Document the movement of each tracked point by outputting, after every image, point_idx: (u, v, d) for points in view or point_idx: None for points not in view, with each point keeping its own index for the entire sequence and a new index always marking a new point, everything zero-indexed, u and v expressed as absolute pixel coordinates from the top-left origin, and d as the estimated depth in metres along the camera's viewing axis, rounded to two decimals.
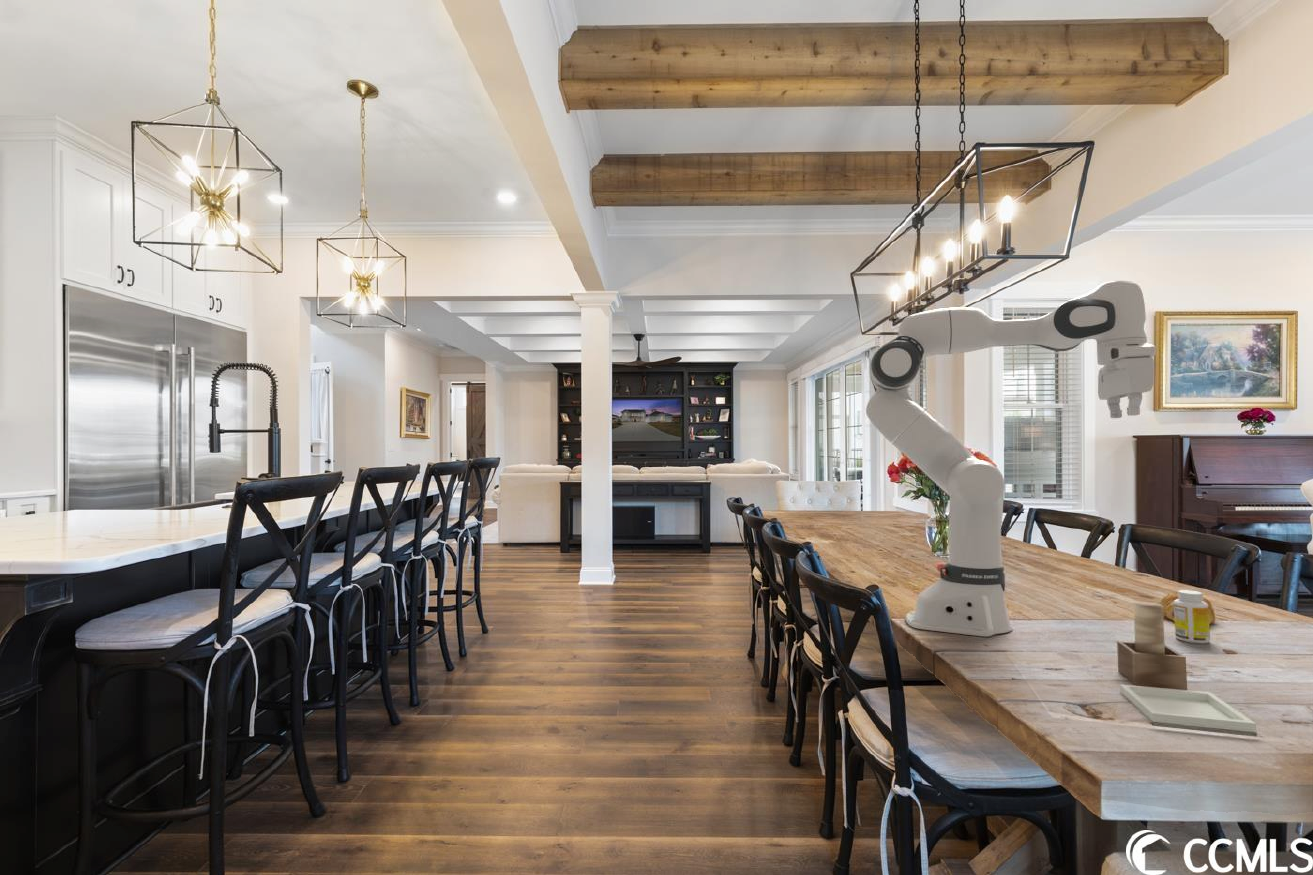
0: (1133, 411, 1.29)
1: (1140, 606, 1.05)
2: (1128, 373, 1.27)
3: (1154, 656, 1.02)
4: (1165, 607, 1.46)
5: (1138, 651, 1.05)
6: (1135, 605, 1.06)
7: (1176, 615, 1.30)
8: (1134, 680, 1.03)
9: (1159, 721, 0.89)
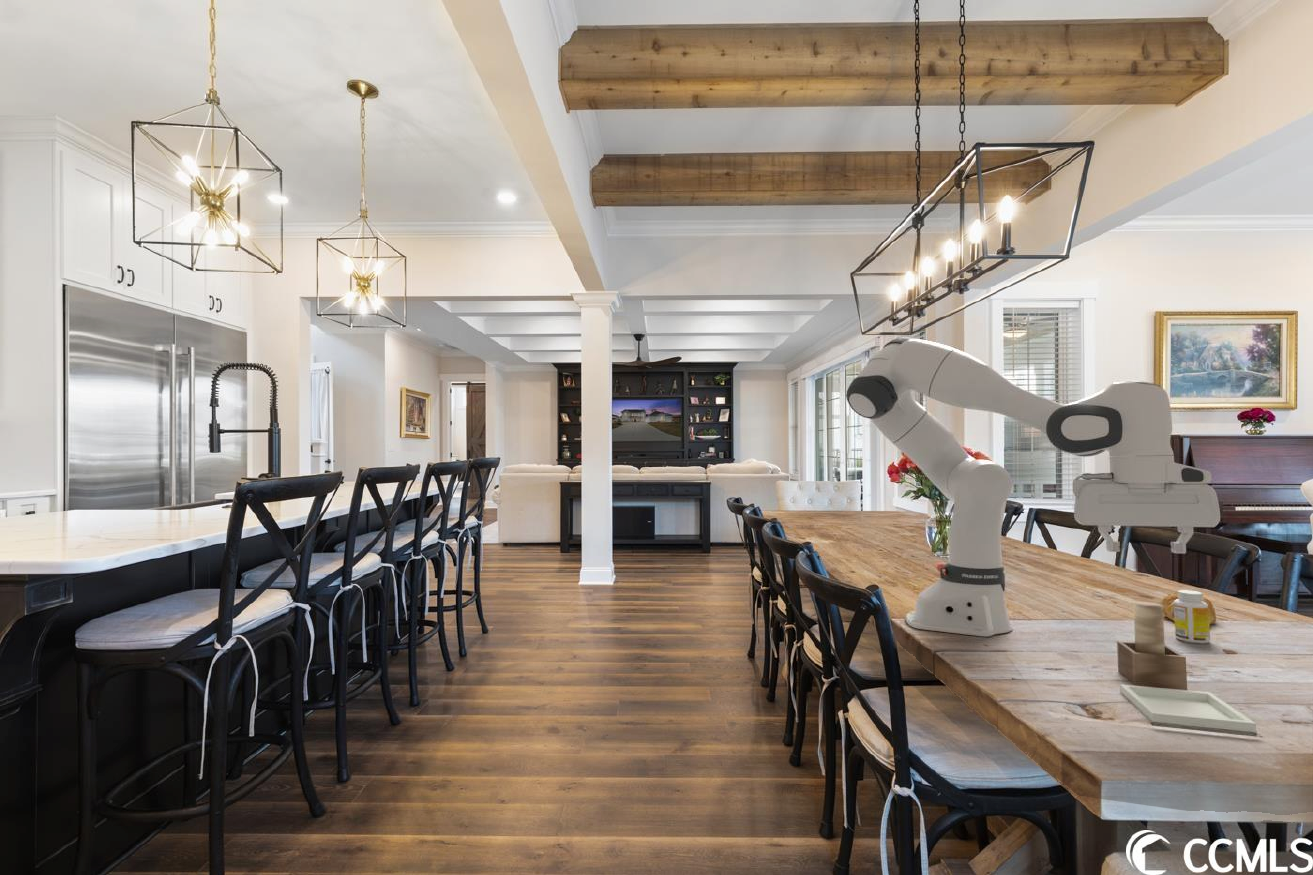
0: None
1: (1140, 606, 1.05)
2: (1216, 504, 1.01)
3: (1154, 656, 1.02)
4: (1166, 607, 1.46)
5: (1138, 651, 1.05)
6: (1135, 605, 1.06)
7: (1176, 615, 1.30)
8: (1134, 680, 1.03)
9: (1159, 721, 0.89)
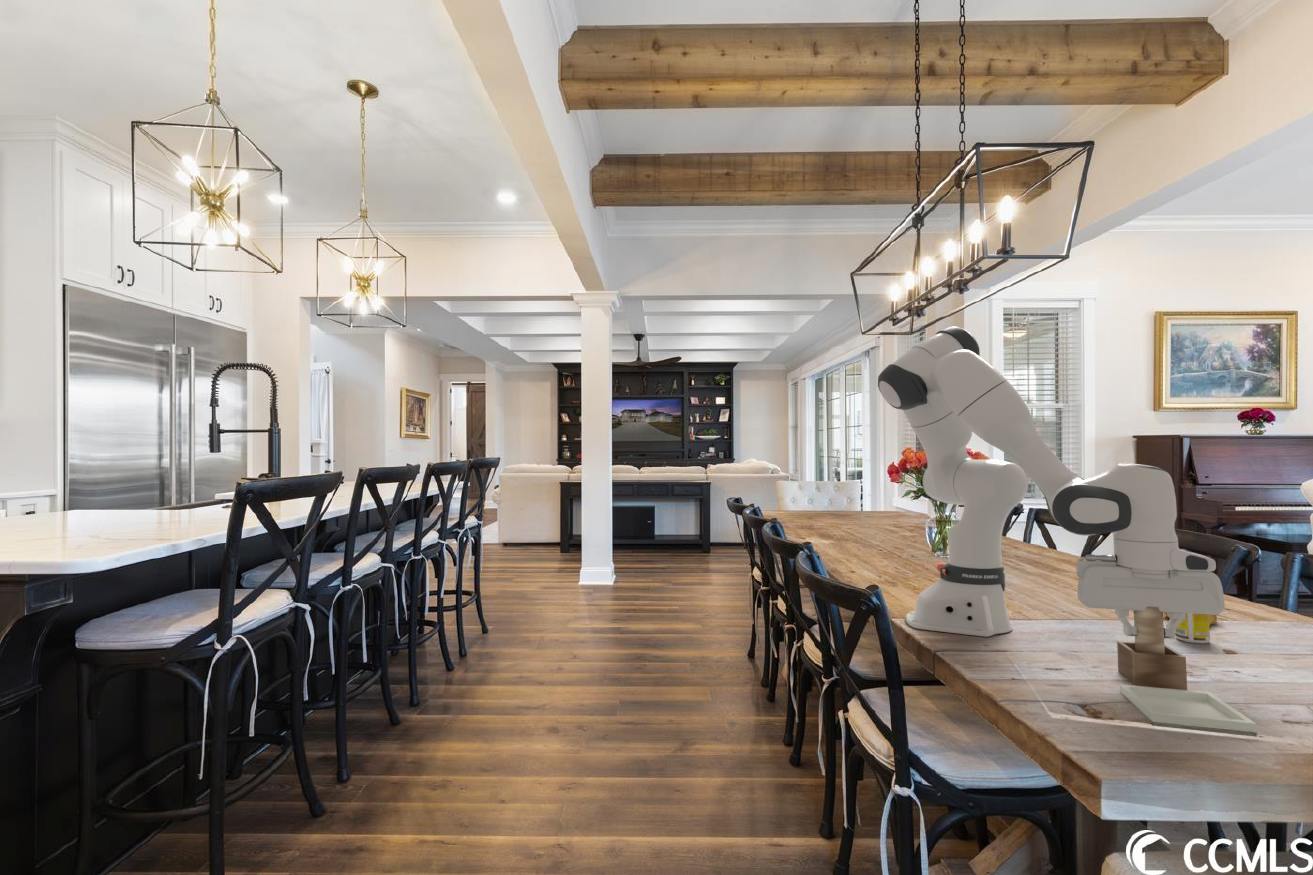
0: None
1: None
2: (1220, 592, 1.01)
3: (1154, 656, 1.02)
4: None
5: (1138, 651, 1.05)
6: None
7: None
8: (1134, 680, 1.03)
9: (1159, 721, 0.89)
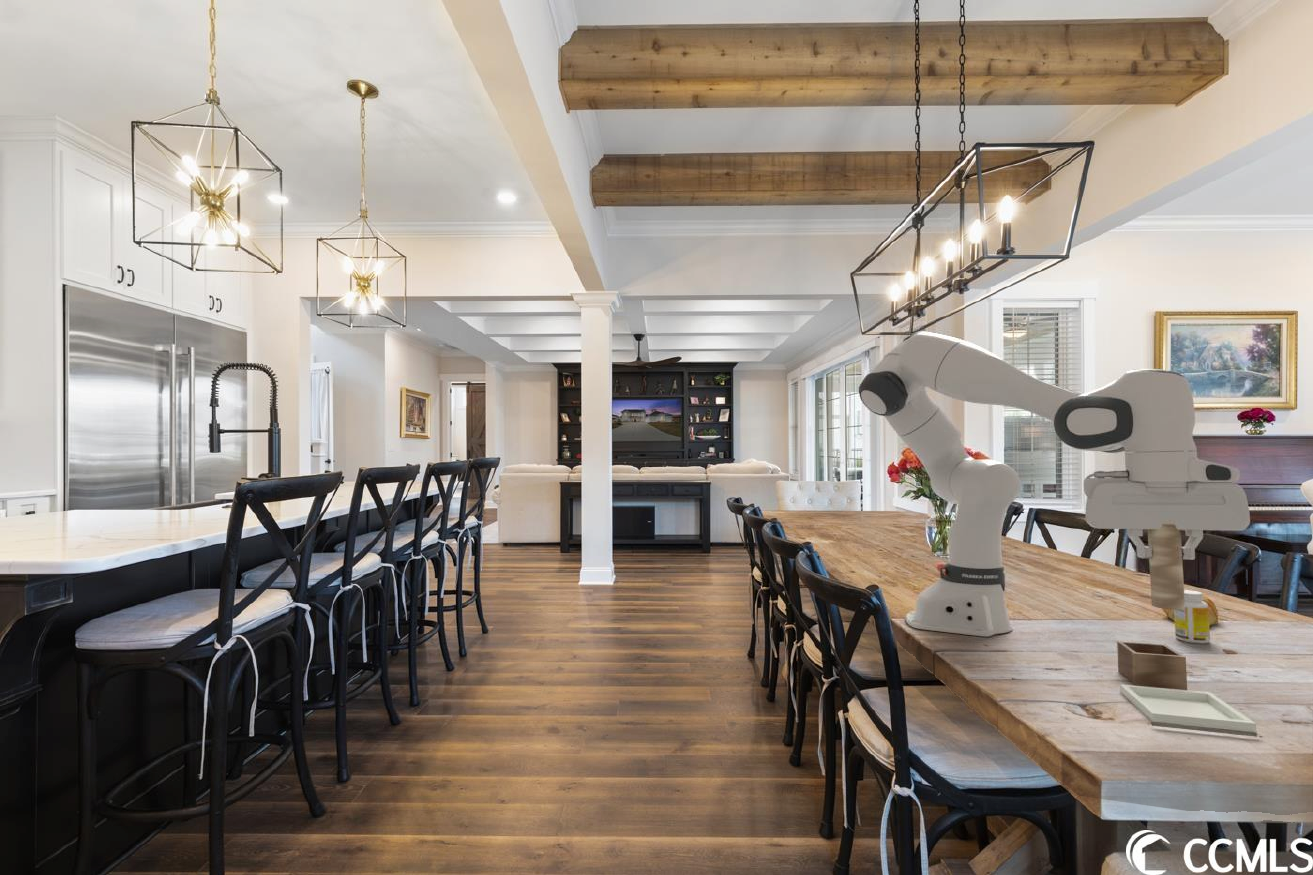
0: None
1: None
2: (1245, 505, 0.91)
3: (1154, 656, 1.02)
4: None
5: (1153, 574, 0.96)
6: None
7: (1176, 615, 1.30)
8: (1134, 680, 1.03)
9: (1159, 721, 0.89)
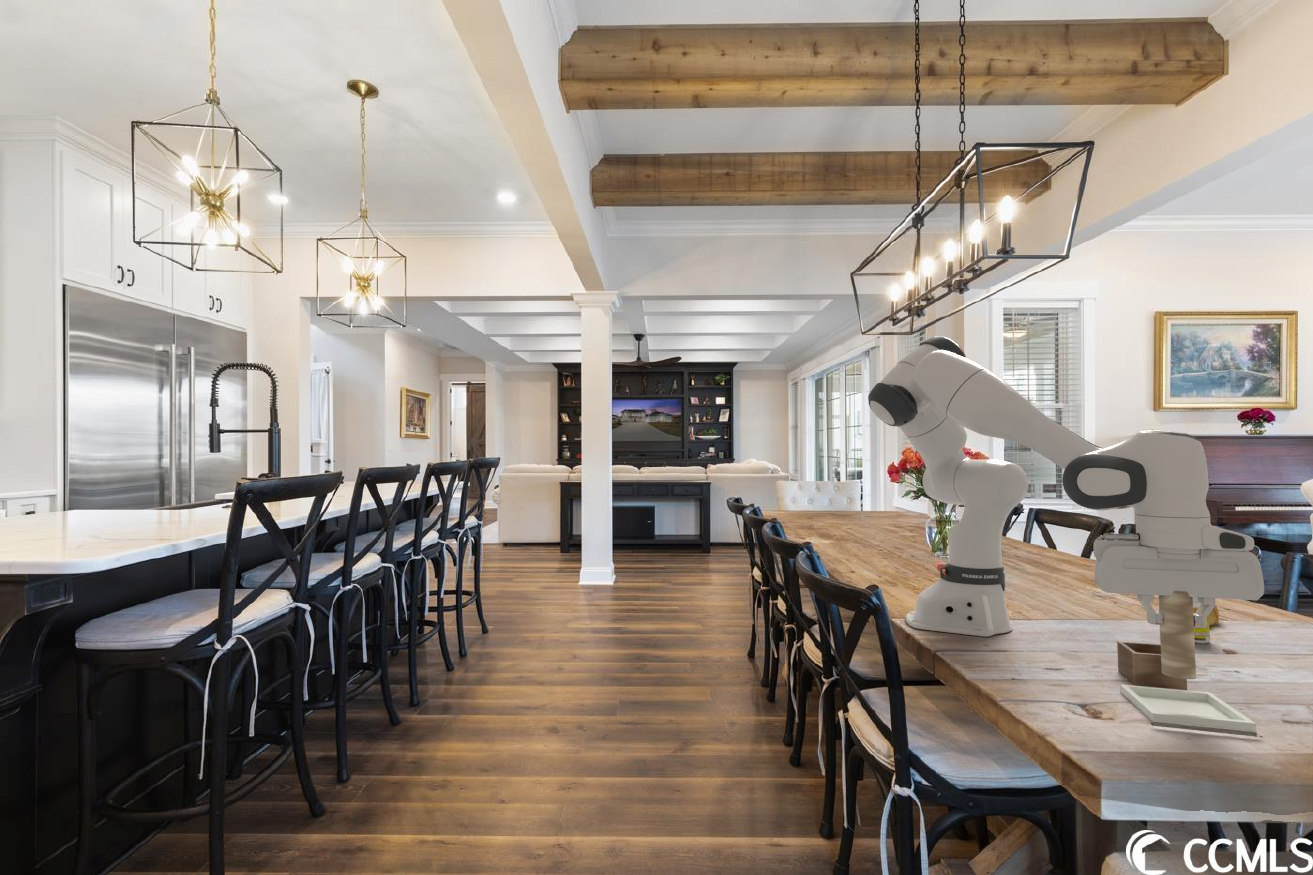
0: None
1: None
2: (1259, 574, 0.88)
3: (1154, 656, 1.02)
4: None
5: (1164, 642, 0.93)
6: None
7: None
8: (1134, 680, 1.03)
9: (1159, 721, 0.89)
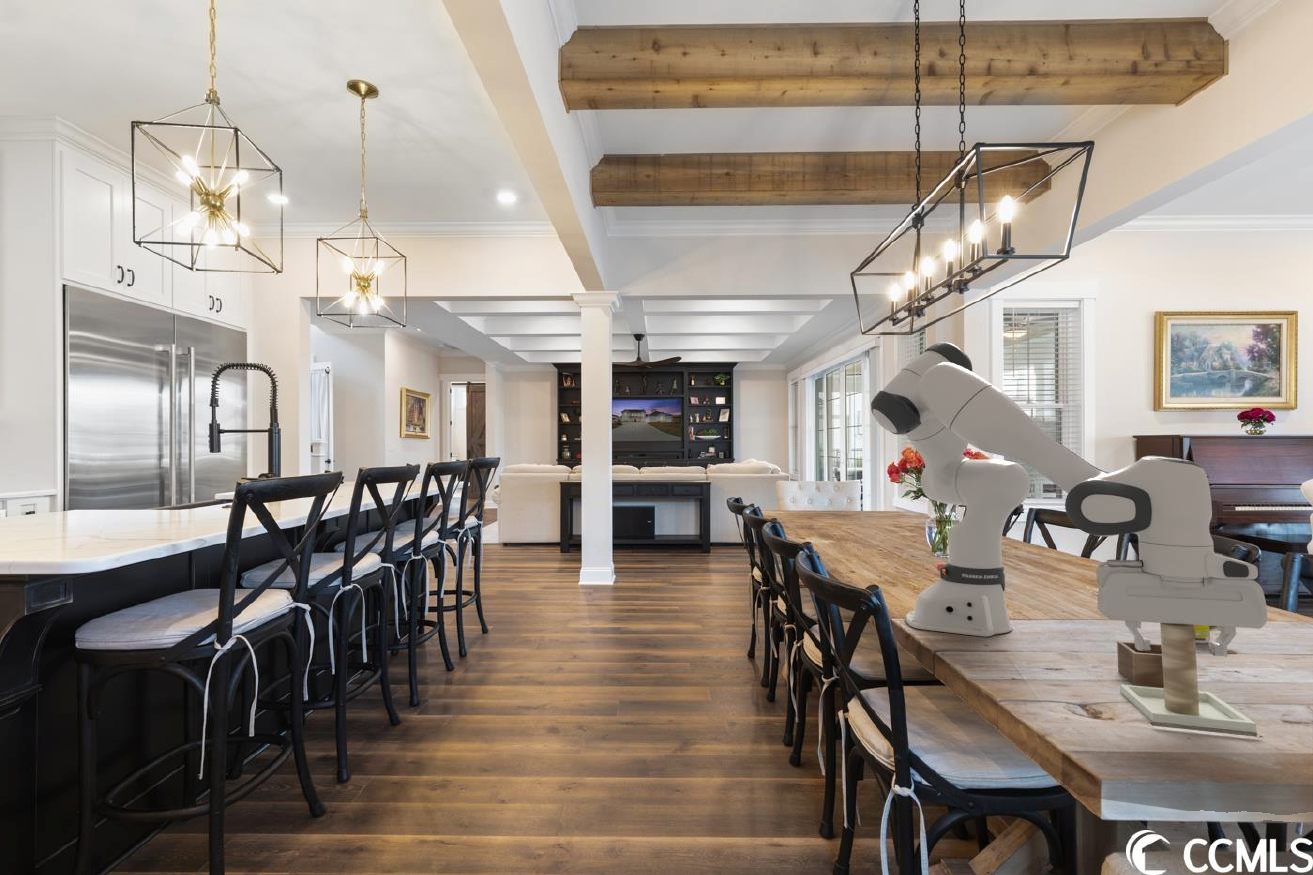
0: None
1: (1168, 626, 0.93)
2: (1263, 603, 0.88)
3: (1154, 656, 1.02)
4: None
5: (1166, 677, 0.93)
6: (1162, 625, 0.94)
7: None
8: (1134, 680, 1.03)
9: (1159, 721, 0.89)
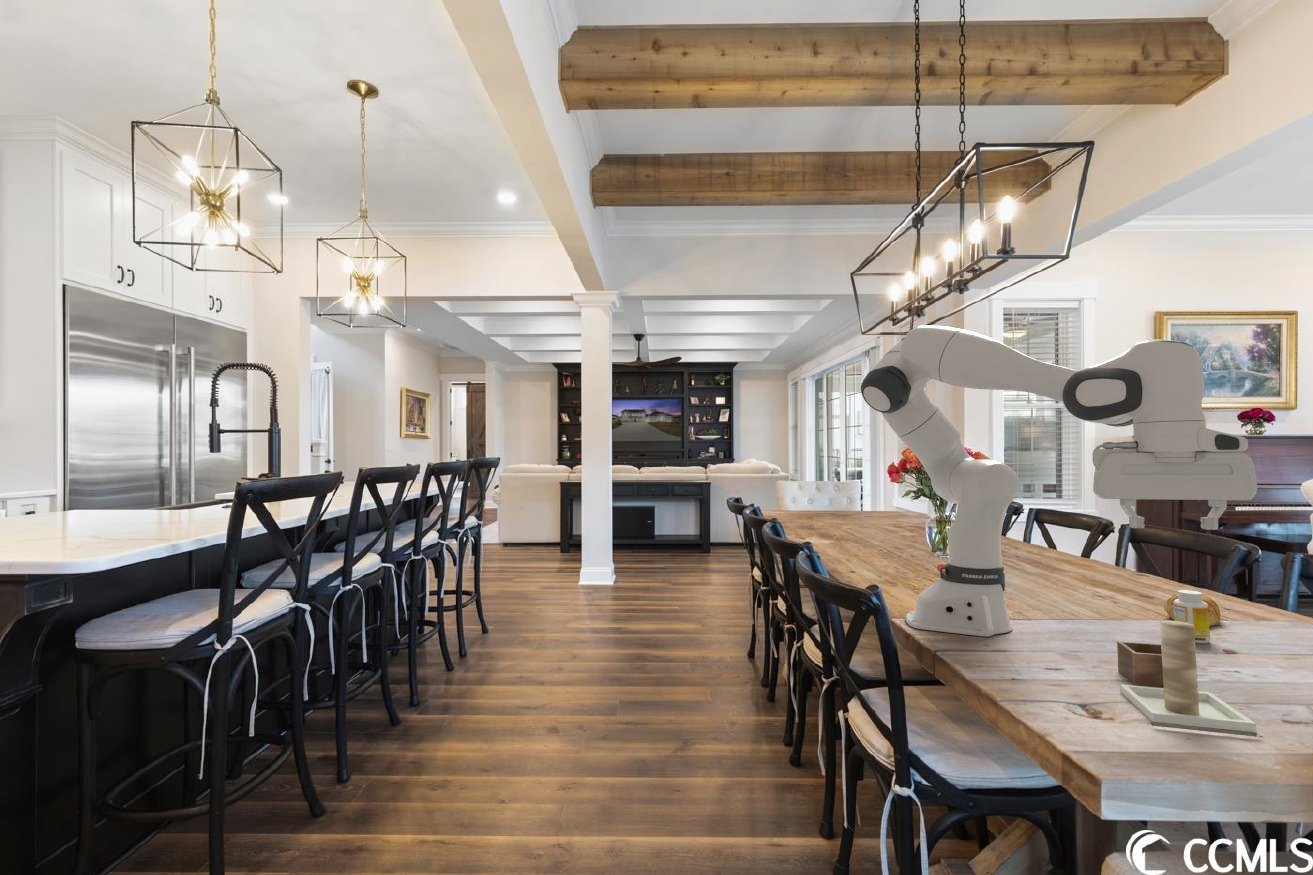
0: None
1: (1168, 626, 0.93)
2: (1253, 474, 0.91)
3: (1154, 656, 1.02)
4: (1169, 607, 1.46)
5: (1166, 677, 0.93)
6: (1162, 625, 0.94)
7: (1176, 615, 1.30)
8: (1134, 680, 1.03)
9: (1159, 721, 0.89)
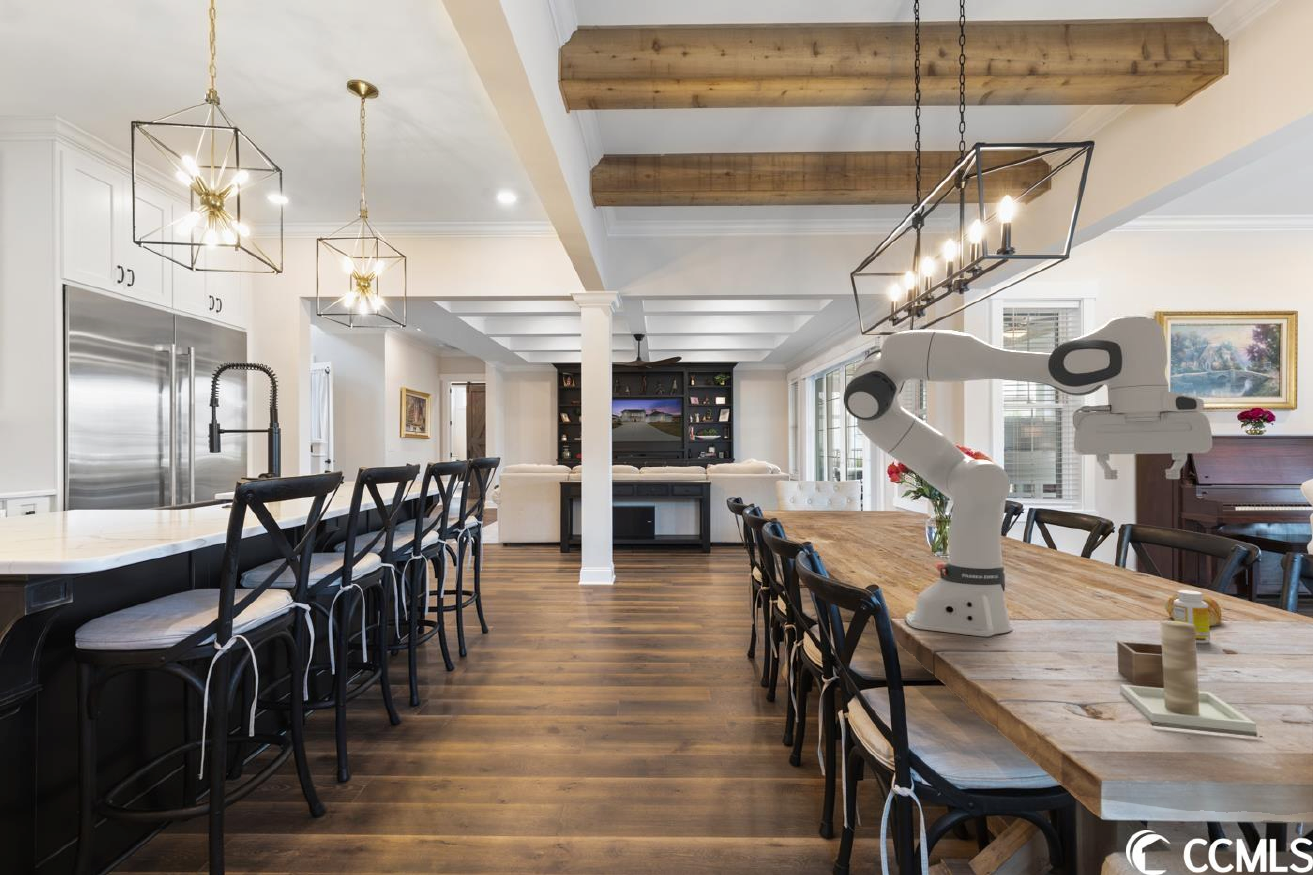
0: None
1: (1169, 626, 0.93)
2: (1208, 430, 1.07)
3: (1154, 656, 1.02)
4: (1170, 607, 1.46)
5: (1167, 677, 0.93)
6: (1163, 625, 0.93)
7: (1176, 615, 1.30)
8: (1134, 680, 1.03)
9: (1159, 721, 0.89)
